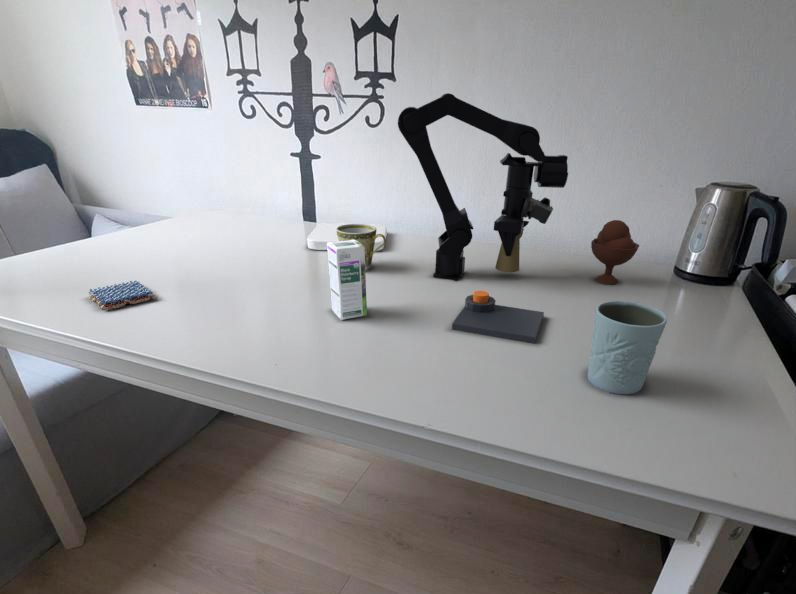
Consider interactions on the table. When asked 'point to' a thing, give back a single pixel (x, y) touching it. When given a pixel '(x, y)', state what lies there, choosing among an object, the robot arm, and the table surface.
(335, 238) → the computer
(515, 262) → the cork
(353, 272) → the syrup box
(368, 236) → the ceramic cup
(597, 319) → the light blue embossed pot
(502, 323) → the dark grey base plate
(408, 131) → the robot arm
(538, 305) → the table surface
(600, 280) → the ice cream bowl
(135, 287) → the woven mat
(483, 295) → the button
